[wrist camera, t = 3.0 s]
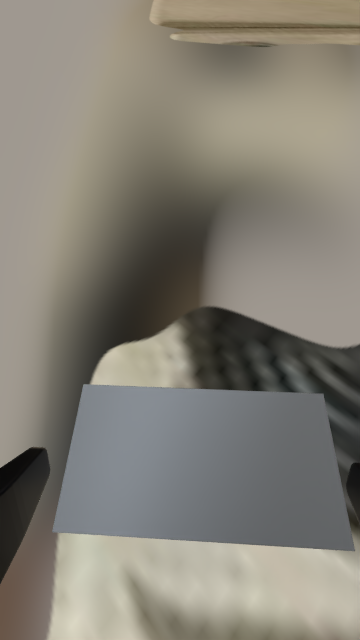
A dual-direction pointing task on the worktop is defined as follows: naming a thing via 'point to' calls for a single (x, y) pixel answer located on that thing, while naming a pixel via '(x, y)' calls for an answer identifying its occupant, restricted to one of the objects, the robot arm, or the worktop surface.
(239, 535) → the grey rectangular block
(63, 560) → the worktop surface
